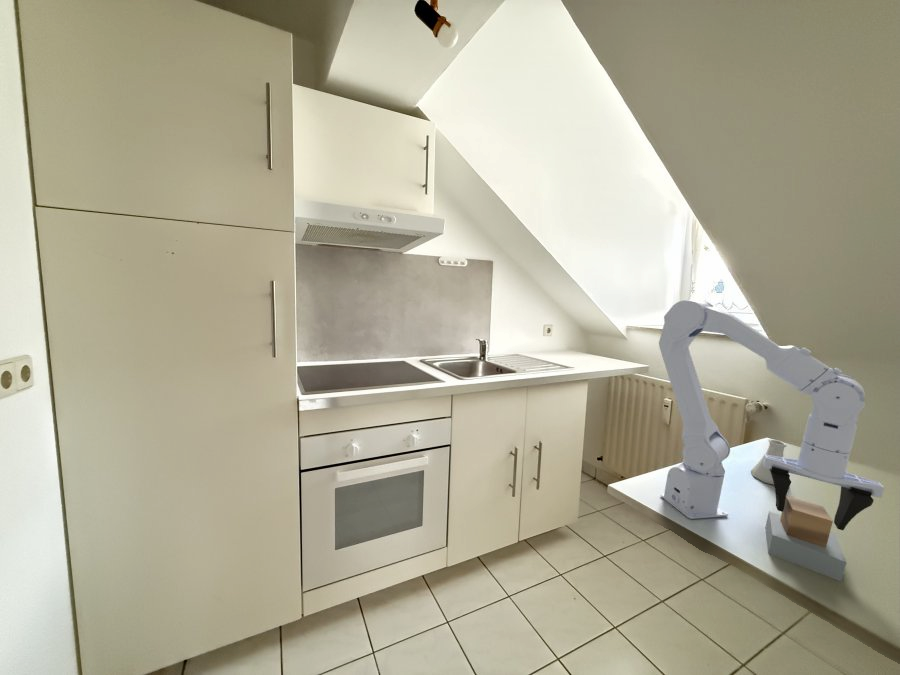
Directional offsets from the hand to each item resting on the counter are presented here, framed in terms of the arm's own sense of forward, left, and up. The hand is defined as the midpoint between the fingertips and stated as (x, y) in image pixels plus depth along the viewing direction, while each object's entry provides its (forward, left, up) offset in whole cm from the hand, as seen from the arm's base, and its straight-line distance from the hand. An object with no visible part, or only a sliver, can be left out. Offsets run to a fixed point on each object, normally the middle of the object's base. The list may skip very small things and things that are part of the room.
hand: (807, 517), depth 63 cm
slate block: (0, 0, -7) cm, 7 cm away
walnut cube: (0, 0, -3) cm, 3 cm away
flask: (+22, +22, -7) cm, 32 cm away
